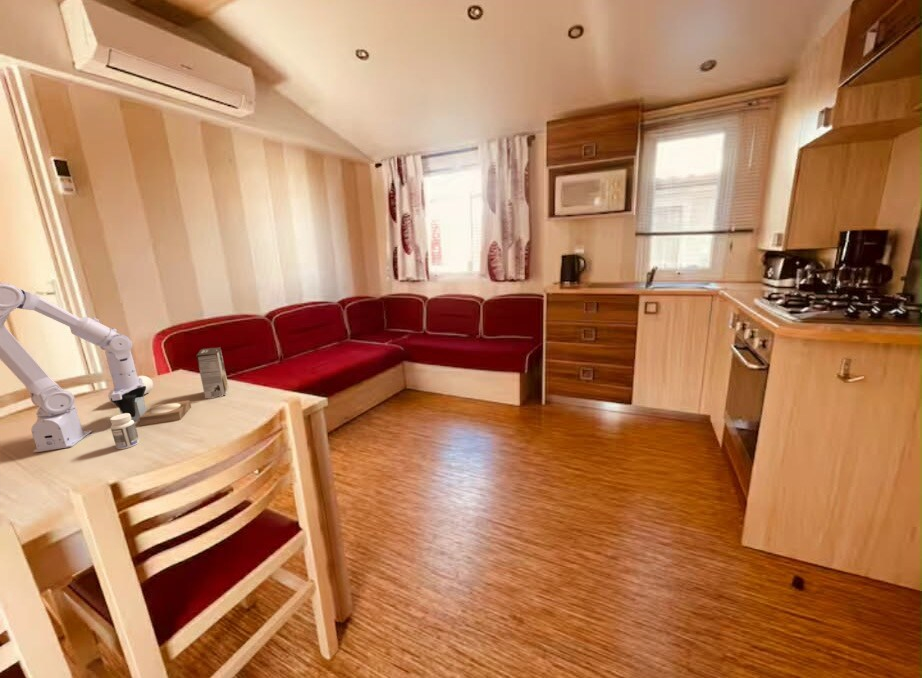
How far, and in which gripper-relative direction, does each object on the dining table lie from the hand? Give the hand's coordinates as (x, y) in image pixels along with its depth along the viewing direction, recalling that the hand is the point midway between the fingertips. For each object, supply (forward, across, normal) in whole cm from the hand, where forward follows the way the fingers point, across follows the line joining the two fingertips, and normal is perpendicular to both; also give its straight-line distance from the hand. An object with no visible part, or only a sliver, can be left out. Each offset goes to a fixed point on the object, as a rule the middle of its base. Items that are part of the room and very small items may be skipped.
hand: (134, 413), depth 116 cm
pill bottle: (+2, -20, -6) cm, 21 cm away
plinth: (+2, -2, -9) cm, 9 cm away
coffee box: (+2, +14, -19) cm, 24 cm away
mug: (-1, +15, +11) cm, 18 cm away
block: (+2, 0, 0) cm, 2 cm away
